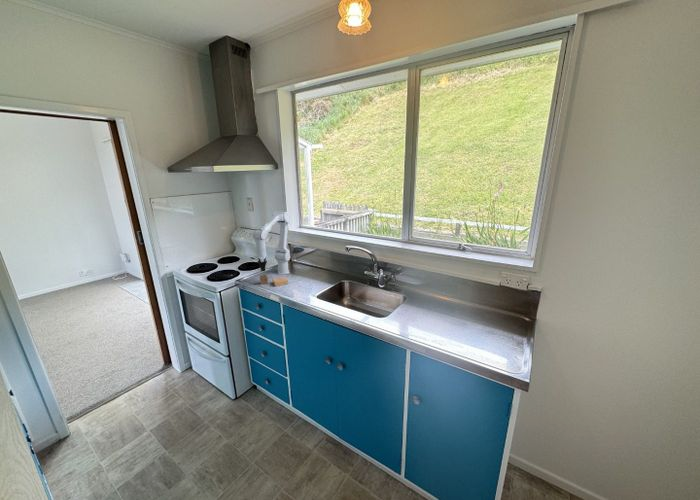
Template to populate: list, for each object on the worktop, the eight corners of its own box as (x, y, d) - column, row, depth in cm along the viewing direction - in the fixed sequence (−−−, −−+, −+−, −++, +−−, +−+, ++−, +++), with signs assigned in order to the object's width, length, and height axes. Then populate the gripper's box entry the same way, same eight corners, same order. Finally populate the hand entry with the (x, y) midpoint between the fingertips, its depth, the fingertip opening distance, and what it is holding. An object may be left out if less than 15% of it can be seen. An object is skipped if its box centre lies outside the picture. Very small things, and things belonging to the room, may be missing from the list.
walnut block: (260, 282, 186) (259, 275, 184) (267, 281, 187) (266, 274, 186) (260, 284, 182) (259, 277, 180) (267, 283, 183) (267, 276, 182)
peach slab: (272, 283, 185) (272, 278, 185) (284, 280, 189) (284, 276, 188) (275, 287, 178) (275, 282, 178) (288, 284, 182) (287, 280, 181)
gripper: (254, 246, 184) (256, 266, 187) (254, 252, 170) (256, 273, 174) (265, 246, 186) (267, 265, 189) (266, 251, 173) (268, 272, 176)
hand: (263, 269), depth 182 cm, fingers open, 7 cm apart
